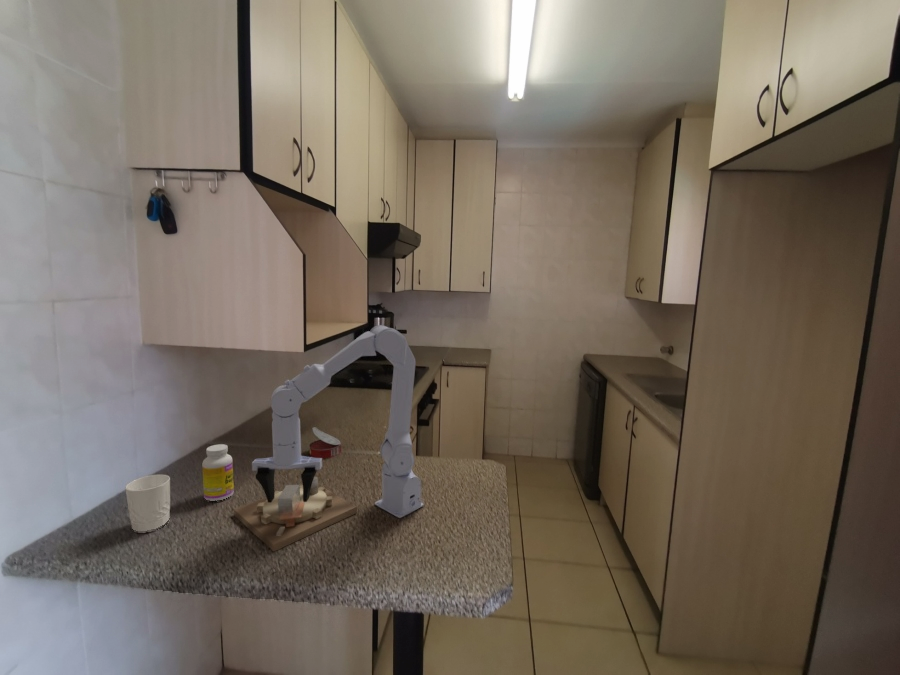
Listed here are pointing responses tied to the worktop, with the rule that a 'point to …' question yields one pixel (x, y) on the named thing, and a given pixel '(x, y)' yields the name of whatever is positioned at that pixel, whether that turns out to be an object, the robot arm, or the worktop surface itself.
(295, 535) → the base board
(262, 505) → the sprocket wheel
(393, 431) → the robot arm
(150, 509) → the white cup
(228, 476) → the supplement bottle
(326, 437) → the canned food
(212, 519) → the worktop surface
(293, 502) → the link block
